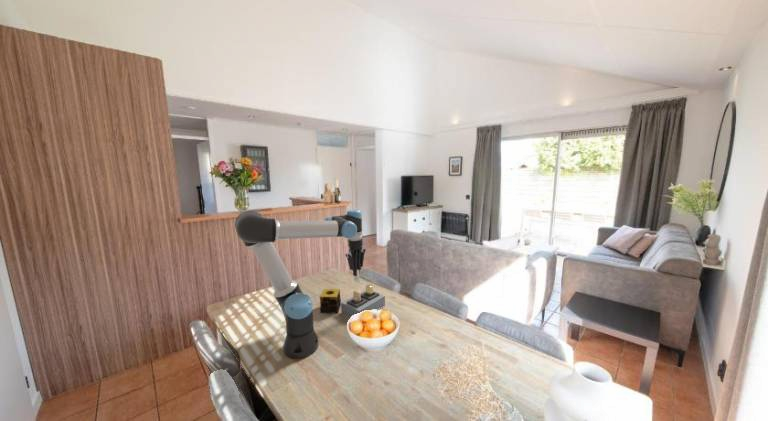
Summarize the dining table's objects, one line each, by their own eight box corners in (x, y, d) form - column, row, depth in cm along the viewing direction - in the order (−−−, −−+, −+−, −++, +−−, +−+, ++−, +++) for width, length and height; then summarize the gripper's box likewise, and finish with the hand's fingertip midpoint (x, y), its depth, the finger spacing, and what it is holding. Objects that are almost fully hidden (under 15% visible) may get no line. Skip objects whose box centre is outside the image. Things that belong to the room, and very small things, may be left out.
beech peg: (357, 307, 149) (356, 294, 147) (352, 304, 151) (351, 292, 150) (362, 304, 152) (362, 292, 150) (357, 301, 154) (356, 290, 153)
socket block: (359, 321, 144) (359, 309, 142) (341, 312, 153) (341, 300, 151) (385, 305, 160) (384, 294, 158) (367, 298, 168) (367, 287, 167)
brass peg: (369, 300, 156) (369, 288, 155) (364, 297, 159) (364, 286, 158) (374, 297, 159) (374, 285, 158) (369, 295, 162) (369, 283, 161)
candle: (338, 313, 152) (337, 296, 150) (319, 313, 152) (319, 297, 150) (341, 304, 162) (340, 288, 160) (324, 304, 162) (323, 288, 160)
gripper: (351, 243, 138) (353, 286, 142) (368, 237, 148) (370, 278, 152) (341, 240, 143) (343, 283, 147) (359, 235, 152) (360, 275, 157)
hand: (356, 280), depth 149 cm, fingers closed
